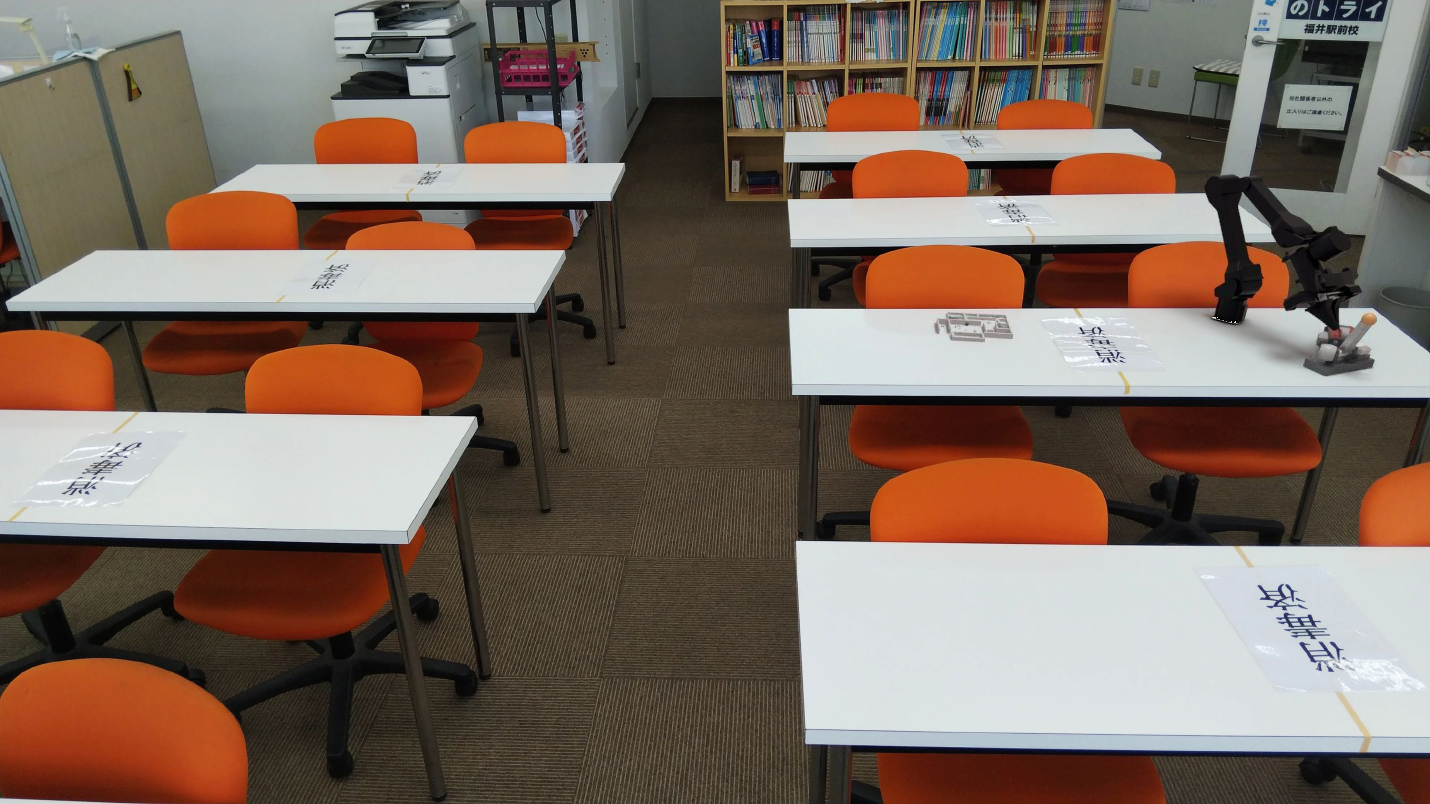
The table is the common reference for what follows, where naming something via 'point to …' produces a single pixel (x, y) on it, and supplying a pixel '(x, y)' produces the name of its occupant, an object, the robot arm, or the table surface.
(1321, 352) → the push button
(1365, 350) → the white block
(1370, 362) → the slide switch base
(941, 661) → the table surface
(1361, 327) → the ball-topped post
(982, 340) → the floor plan model
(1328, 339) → the walkie-talkie
